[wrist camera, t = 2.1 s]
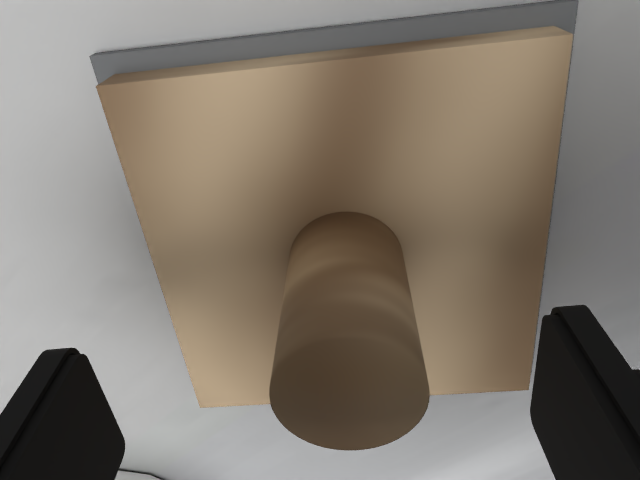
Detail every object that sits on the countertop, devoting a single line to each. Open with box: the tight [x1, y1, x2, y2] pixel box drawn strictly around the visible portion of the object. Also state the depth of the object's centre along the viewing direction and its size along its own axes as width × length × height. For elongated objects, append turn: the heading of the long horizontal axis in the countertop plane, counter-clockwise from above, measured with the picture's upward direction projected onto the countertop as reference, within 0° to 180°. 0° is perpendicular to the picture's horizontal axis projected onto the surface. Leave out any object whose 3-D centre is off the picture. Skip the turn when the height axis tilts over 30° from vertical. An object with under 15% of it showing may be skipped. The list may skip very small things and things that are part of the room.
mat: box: [90, 0, 578, 372], centre depth 16 cm, size 12×12×1 cm
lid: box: [96, 26, 573, 450], centre depth 13 cm, size 11×11×6 cm
